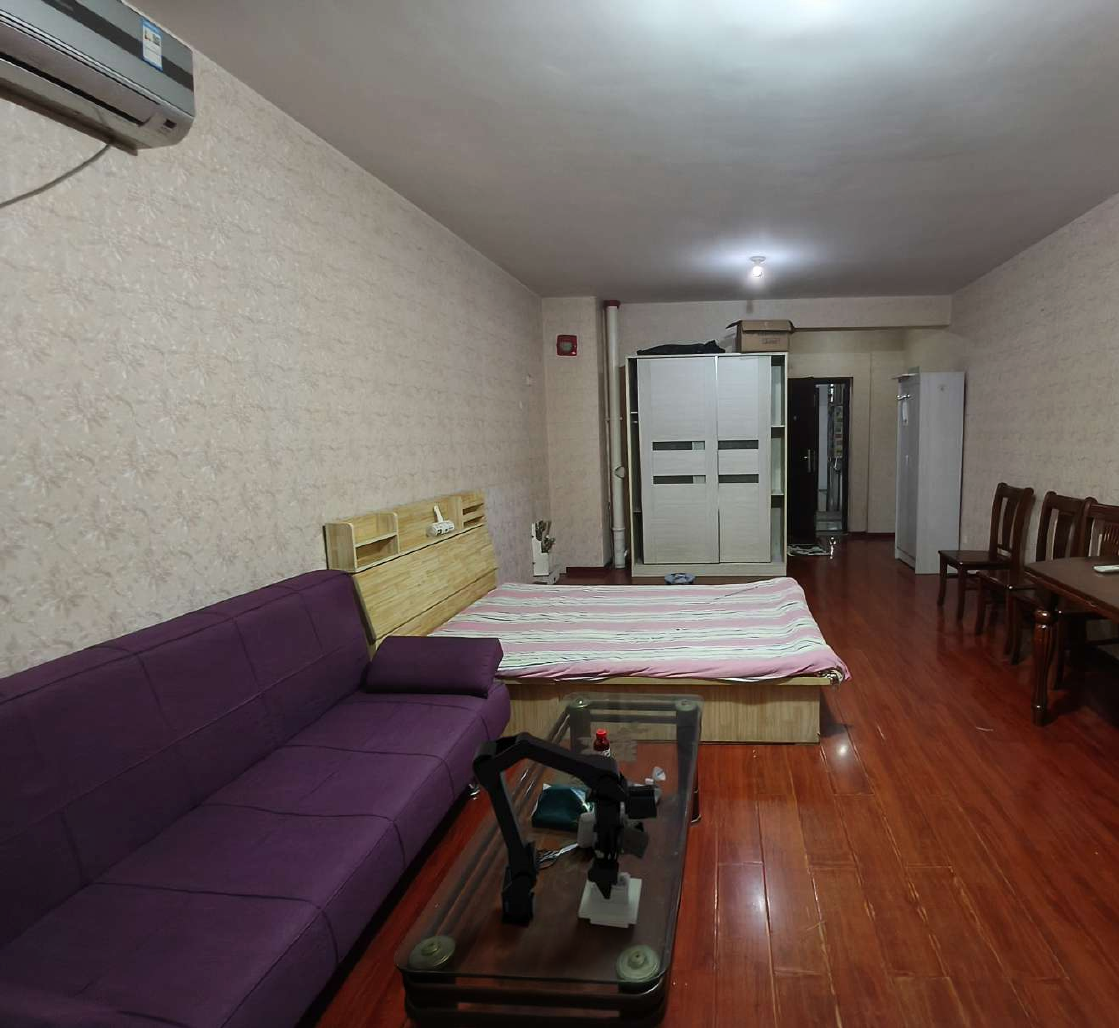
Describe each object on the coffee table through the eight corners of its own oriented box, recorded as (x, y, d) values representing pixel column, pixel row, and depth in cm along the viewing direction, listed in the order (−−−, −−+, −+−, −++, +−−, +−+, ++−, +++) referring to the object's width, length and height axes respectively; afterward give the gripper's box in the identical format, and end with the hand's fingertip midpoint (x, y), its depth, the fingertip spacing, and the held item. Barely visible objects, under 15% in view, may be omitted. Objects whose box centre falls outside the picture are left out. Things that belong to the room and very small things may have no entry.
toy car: (668, 762, 186) (657, 783, 176) (669, 794, 188) (658, 817, 177) (608, 752, 193) (594, 772, 183) (609, 783, 195) (595, 804, 184)
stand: (579, 929, 139) (578, 912, 138) (589, 889, 151) (588, 873, 150) (636, 936, 136) (635, 919, 136) (642, 895, 148) (641, 879, 147)
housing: (628, 905, 140) (627, 886, 139) (591, 902, 141) (590, 883, 141) (630, 888, 145) (629, 870, 144) (594, 885, 146) (593, 867, 145)
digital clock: (638, 832, 171) (637, 794, 169) (645, 855, 162) (643, 814, 160) (575, 837, 170) (574, 799, 168) (579, 860, 161) (577, 820, 159)
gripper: (641, 849, 130) (643, 921, 132) (649, 796, 148) (651, 860, 150) (585, 844, 132) (588, 914, 134) (600, 792, 150) (603, 855, 152)
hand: (610, 884), depth 143 cm, fingers open, 8 cm apart
